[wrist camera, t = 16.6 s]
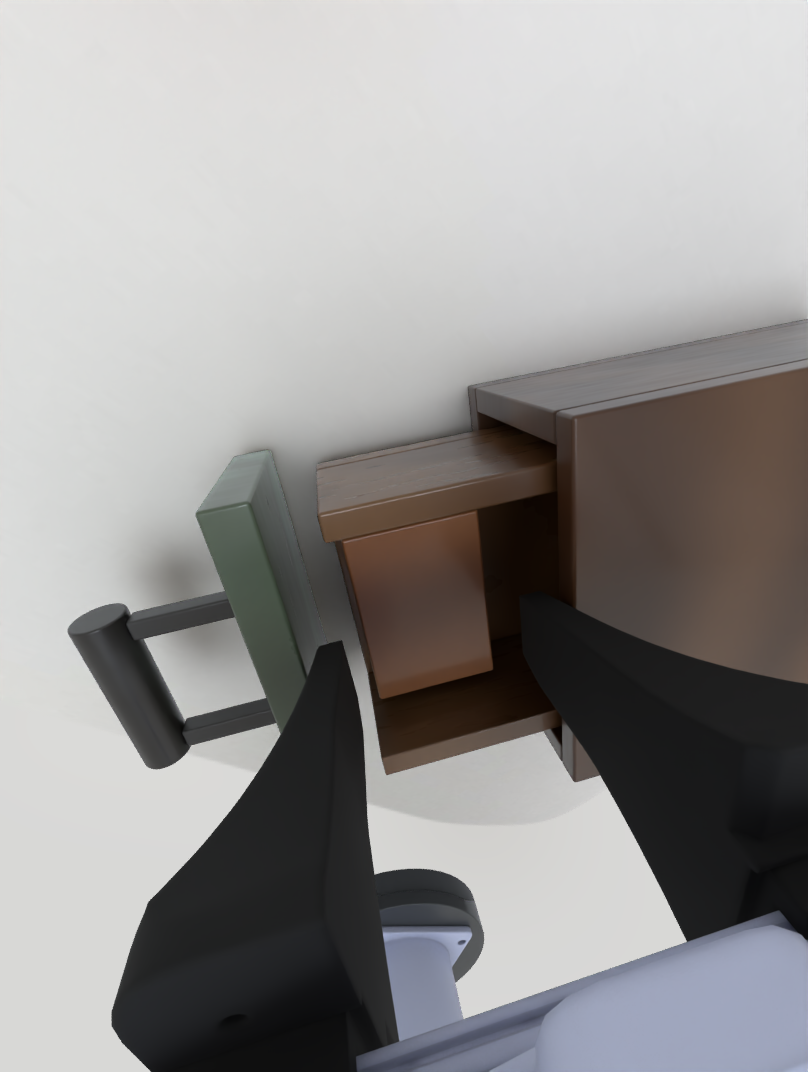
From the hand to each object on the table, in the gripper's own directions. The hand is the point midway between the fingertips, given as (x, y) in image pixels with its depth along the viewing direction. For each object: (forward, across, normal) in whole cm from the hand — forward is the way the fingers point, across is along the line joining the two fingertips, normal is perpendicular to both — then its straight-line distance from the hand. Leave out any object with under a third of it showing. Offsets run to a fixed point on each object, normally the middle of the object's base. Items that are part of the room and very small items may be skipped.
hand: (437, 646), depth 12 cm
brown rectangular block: (+4, 0, 0) cm, 4 cm away
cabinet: (+6, -10, 0) cm, 12 cm away
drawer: (+5, +1, 0) cm, 5 cm away
